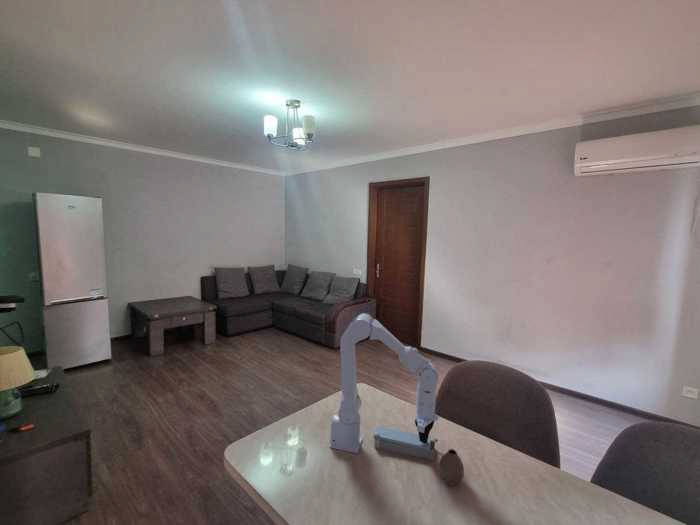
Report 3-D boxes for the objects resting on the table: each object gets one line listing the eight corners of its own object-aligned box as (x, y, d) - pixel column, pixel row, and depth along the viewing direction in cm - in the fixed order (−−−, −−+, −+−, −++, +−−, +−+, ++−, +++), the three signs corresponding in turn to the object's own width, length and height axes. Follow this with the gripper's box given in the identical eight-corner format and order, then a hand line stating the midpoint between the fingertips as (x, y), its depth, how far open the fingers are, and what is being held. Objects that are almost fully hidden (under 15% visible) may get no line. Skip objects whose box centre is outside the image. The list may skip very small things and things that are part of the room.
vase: (464, 492, 88) (466, 462, 87) (438, 486, 89) (440, 457, 88) (461, 474, 94) (463, 446, 94) (437, 469, 96) (439, 442, 95)
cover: (372, 439, 104) (373, 429, 104) (376, 428, 110) (377, 418, 110) (429, 452, 99) (430, 441, 99) (430, 439, 105) (431, 429, 105)
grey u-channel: (373, 447, 104) (374, 437, 104) (377, 436, 111) (377, 426, 110) (436, 461, 99) (437, 450, 99) (436, 448, 105) (437, 437, 105)
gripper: (435, 415, 92) (432, 459, 93) (441, 393, 105) (439, 432, 106) (411, 409, 95) (408, 452, 96) (420, 389, 108) (418, 426, 109)
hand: (423, 441), depth 101 cm, fingers closed
